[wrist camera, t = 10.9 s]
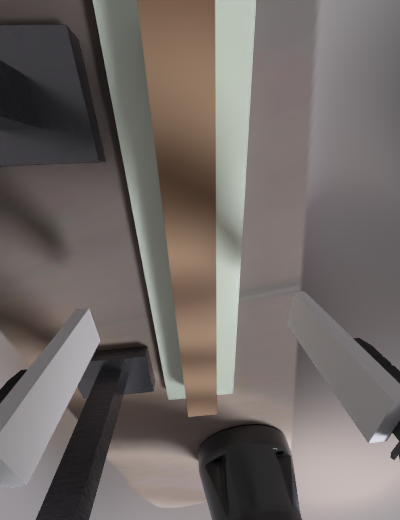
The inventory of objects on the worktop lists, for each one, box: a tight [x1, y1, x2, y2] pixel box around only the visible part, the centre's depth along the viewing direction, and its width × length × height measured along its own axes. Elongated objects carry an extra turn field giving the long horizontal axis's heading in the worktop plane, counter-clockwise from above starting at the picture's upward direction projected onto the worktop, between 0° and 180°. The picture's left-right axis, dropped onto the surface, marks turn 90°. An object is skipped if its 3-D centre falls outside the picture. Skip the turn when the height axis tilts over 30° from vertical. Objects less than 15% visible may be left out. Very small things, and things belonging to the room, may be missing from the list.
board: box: [93, 0, 256, 400], centre depth 17 cm, size 34×8×1 cm, turn 2°
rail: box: [137, 0, 217, 417], centre depth 15 cm, size 30×3×3 cm, turn 2°
